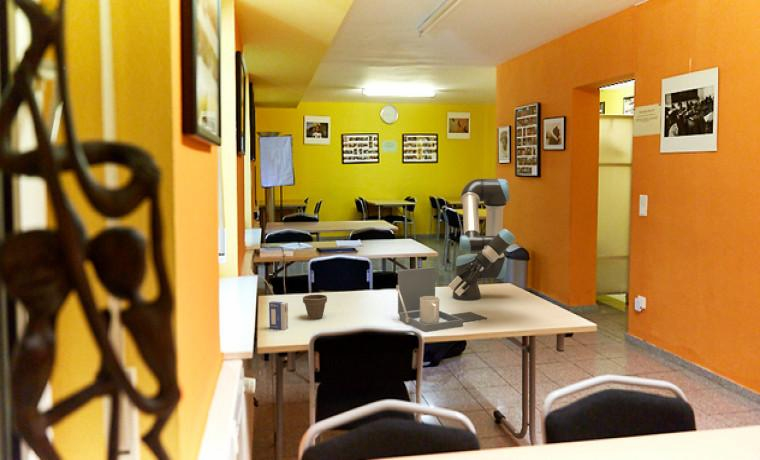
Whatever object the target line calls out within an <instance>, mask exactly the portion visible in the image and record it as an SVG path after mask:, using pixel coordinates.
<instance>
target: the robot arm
mask: <svg viewBox="0 0 760 460" xmlns="http://www.w3.org/2000/svg"><path fill="white" fill-rule="evenodd" d="M509 188H510V187H509V182H508V180H507V179H506V178H474V179H473V180H471V181H469V182H468V183H466V184H465V186H464V187H463V188H462V191H461V193H460V202H461V204H462V217H463V218H462V219H463V220H462V221H463V224H462V225H463V235H460V237H459V249H460V251H462V252H468V253H465V254H461V255H459V256H457V257H456V260H455V261H456V262H455V278H454V279H453V280H452V281H451V282H450V283H449V284H448V288H450V289H451V290H453V291H452V295H451V296H452V298H453V299H455V300H461V301H475V300H476V301H477V300H480V299H481V298H482V297H481V296H482V293H481V290H480V288H479V283H478V281H479V280H478V279H484V280H486V279H487V280H488V279H489V280H500V279H505V278H504V277H505V276H506V273H507V268H508V265H507V264H508V258H507V257H506V256H505V254H504V252H506V250H508V248H509V247H510V246H511V245H513V243H514V242H515V241H516V236H515V235H514V234H513V233H512V232H510V230H508V229H506V228H503V223H504V222H503V221H504V208H505V207H506V206H507V203H508V202H510V201H511V199H510V197H511V196H510V195H511V194H510V189H509ZM480 202H483V206H485V208H486V211H485V214H486V217H485V218H486V219H485V235H480V233H481V232H480V219H479V218H480V217H479V203H480ZM470 252H472V253H470ZM475 252H479V253H475Z"/></svg>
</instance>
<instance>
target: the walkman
mask: <svg viewBox="0 0 760 460" xmlns="http://www.w3.org/2000/svg"><path fill="white" fill-rule="evenodd" d="M288 305H289V303H288V302H286V301H285V302H284V301H275V300H273V301H270V302H268V312H269V313H268V314H269V315H268V317H269V318H268V319H269V329H271V330H283V331H286V330H288V329H289V309H288V308H289V306H288Z"/></svg>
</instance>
